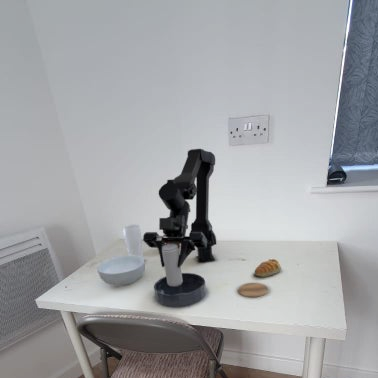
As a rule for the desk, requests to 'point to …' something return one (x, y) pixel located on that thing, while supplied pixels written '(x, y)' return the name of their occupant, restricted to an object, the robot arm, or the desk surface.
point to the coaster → (253, 290)
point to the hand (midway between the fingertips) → (170, 266)
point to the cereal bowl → (121, 269)
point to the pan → (180, 291)
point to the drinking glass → (133, 239)
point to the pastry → (268, 268)
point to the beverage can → (172, 265)
